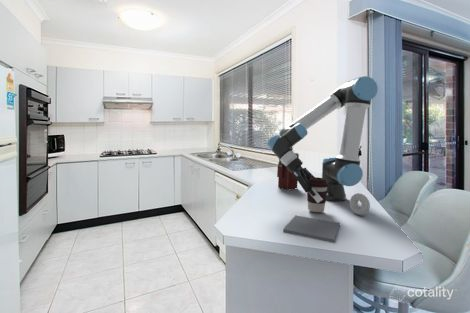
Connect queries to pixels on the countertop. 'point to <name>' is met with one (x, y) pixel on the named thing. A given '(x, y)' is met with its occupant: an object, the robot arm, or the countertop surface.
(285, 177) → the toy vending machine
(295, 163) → the robot arm
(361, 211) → the donut
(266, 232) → the countertop surface
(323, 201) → the coffee cup
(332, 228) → the mat
